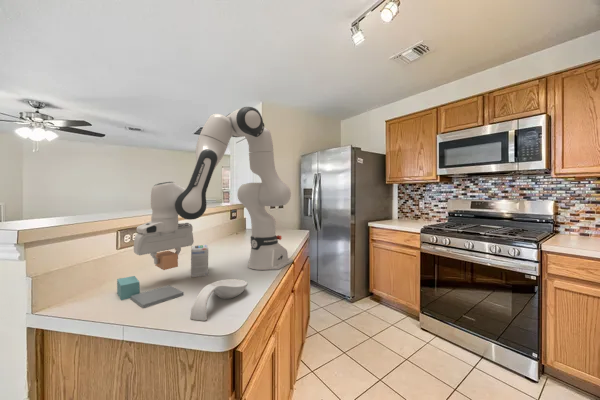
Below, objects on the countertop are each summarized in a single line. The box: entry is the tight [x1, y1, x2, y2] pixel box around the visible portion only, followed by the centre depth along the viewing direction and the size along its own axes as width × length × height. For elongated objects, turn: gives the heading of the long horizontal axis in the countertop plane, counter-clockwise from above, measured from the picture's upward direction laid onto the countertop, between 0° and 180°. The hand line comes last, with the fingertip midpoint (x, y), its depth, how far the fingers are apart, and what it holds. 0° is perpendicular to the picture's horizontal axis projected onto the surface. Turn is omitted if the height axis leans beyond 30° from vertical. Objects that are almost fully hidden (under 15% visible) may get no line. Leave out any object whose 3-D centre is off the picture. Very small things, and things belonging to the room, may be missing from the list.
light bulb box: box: [190, 244, 209, 278], centre depth 105 cm, size 11×7×11 cm, turn 23°
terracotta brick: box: [154, 250, 179, 271], centre depth 93 cm, size 5×8×5 cm, turn 49°
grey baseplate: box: [129, 284, 185, 309], centre depth 80 cm, size 12×10×1 cm
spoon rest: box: [189, 278, 248, 322], centre depth 77 cm, size 24×12×7 cm, turn 170°
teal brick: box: [116, 275, 141, 301], centre depth 82 cm, size 5×8×5 cm, turn 43°
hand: (166, 261), depth 93 cm, fingers closed on terracotta brick, 5 cm apart
